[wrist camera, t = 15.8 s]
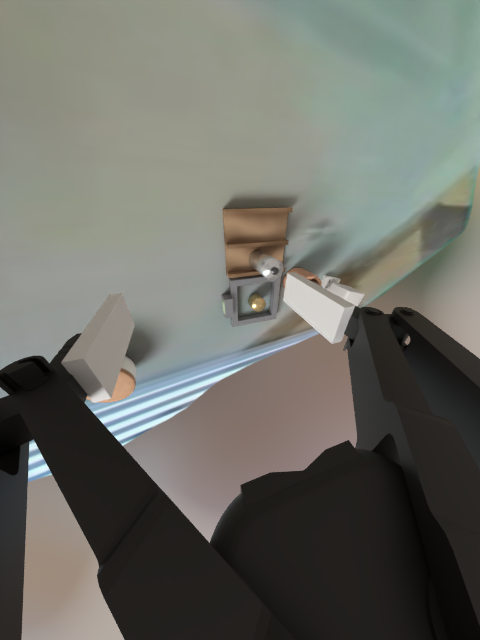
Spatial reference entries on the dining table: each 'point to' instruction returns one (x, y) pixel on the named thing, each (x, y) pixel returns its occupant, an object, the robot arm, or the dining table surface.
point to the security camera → (342, 290)
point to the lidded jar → (124, 381)
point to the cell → (266, 264)
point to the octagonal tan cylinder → (304, 274)
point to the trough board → (253, 237)
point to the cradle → (232, 304)
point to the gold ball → (256, 302)
